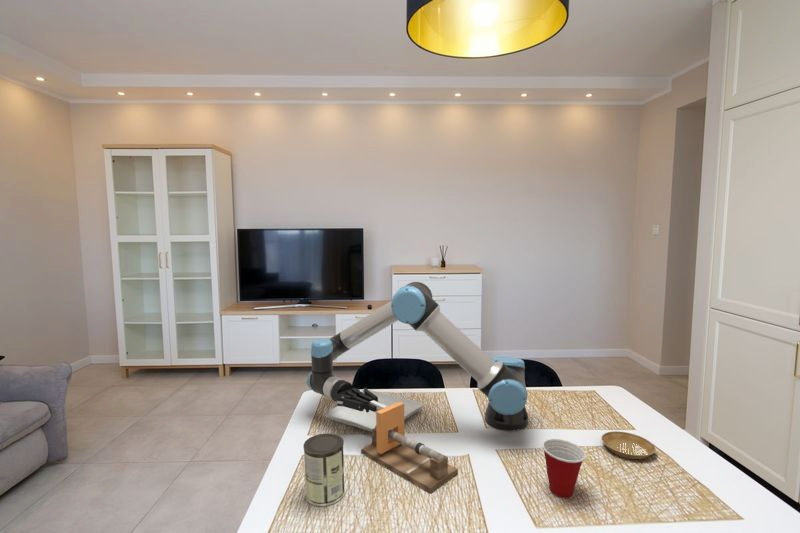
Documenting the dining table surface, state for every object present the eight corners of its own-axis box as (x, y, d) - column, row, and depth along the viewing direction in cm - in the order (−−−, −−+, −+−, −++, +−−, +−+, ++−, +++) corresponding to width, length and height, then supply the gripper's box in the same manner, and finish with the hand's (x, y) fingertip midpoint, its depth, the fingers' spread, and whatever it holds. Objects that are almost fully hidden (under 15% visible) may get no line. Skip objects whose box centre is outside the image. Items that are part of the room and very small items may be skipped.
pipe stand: (361, 453, 129) (360, 428, 128) (389, 438, 137) (388, 415, 137) (430, 493, 109) (430, 464, 108) (457, 473, 118) (458, 447, 117)
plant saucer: (594, 451, 129) (594, 443, 129) (609, 434, 140) (609, 426, 140) (648, 470, 119) (648, 461, 119) (659, 449, 130) (660, 441, 130)
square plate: (425, 411, 158) (425, 402, 158) (384, 443, 135) (384, 432, 135) (368, 396, 172) (368, 387, 172) (322, 423, 150) (322, 412, 149)
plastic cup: (589, 507, 104) (591, 461, 102) (543, 501, 106) (545, 457, 105) (579, 481, 114) (581, 439, 113) (538, 476, 116) (539, 435, 115)
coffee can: (317, 478, 116) (316, 430, 115) (351, 486, 113) (350, 436, 111) (297, 501, 106) (295, 449, 105) (333, 510, 103) (331, 456, 102)
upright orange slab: (376, 451, 125) (376, 411, 124) (399, 439, 132) (399, 401, 131) (381, 454, 124) (380, 413, 122) (404, 441, 131) (404, 403, 130)
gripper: (353, 395, 149) (400, 416, 133) (323, 406, 140) (370, 430, 123) (353, 375, 148) (400, 393, 132) (323, 385, 139) (369, 406, 123)
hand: (385, 411), depth 128 cm, fingers closed
